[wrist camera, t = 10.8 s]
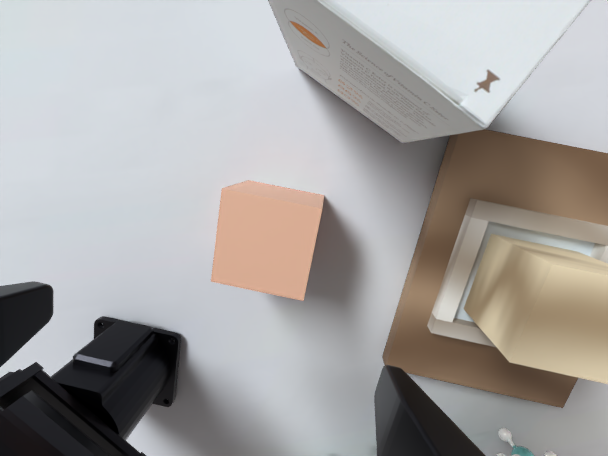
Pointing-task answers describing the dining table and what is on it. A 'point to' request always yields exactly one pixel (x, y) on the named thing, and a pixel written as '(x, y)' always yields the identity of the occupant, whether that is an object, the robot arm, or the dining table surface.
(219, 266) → the terracotta block
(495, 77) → the small box
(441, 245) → the walnut board
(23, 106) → the dining table surface
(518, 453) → the molecule model
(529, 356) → the maple block
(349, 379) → the dining table surface
